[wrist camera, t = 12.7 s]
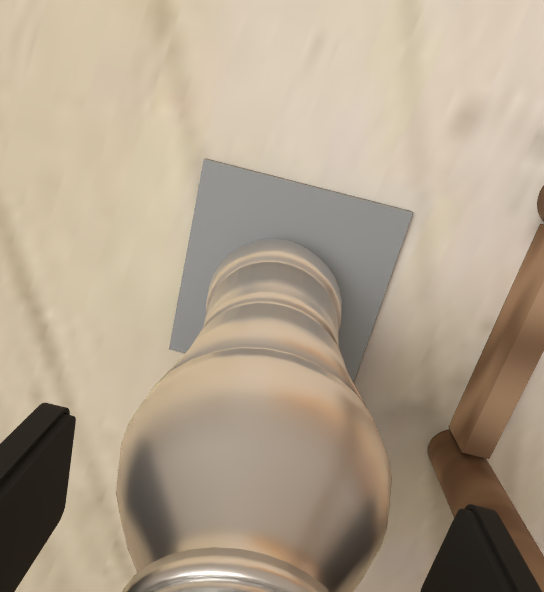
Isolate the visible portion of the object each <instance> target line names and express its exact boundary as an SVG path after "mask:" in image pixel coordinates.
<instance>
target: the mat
mask: <svg viewBox="0 0 544 592" xmlns="http://www.w3.org/2000/svg"><path fill="white" fill-rule="evenodd" d="M412 214H413V212H411V211H409V210H405V209H401V208H397V207H393V206H389V205H385V204H381V203H378V202H374V201H370V200H366V199H362V198H358V197H354V196H350V195H346V194H342V193H338V192H335V191H331V190H327V189H323V188H319V187H315V186H311V185H307V184H303V183H299V182H296V181H292V180H288V179H284V178H280V177H276V176H272V175H268V174H264V173H260V172H256V171H253V170H249V169H245V168H241V167H237V166H233V165H229V164H225V163H221V162H217V161H214V160H210V159H204V161H203V166H202V172H201V177H200V183H199V188H198V194H197V199H196V205H195V210H194V216H193V221H192V227H191V232H190V238H189V243H188V248H187V254H186V259H185V265H184V270H183V276H182V281H181V287H180V292H179V298H178V303H177V309H176V314H175V320H174V325H173V331H172V336H171V342H170V347H169V349H170V350H174V351H178V352H182V353H186V352H187V351H188V350H189V349H190V347H191V346H192V344H193V342H194V341H195V339H196V338H197V336H198V335H199V333H200V331H201V330H202V328H203V325H204V321H205V318H206V314H207V312H206V304H207V297H208V290H209V285H210V282H211V279H212V277H213V274H214V272H215V271H216V269H217V268H218V266H219V265H220V263H221V262H222V261H223V260H224V259H225V258H226V257H227V256H228V255H229V254H231V253H232V252H234V251H235V250H237V249H239V248H240V247H242V246H245V245H247V244H250V243H252V242H255V241H259V240H265V239H282V240H286V241H291V242H294V243H296V244H299V245H301V246H303V247H305V248H307V249H308V250H310V251H311V252H313V253H314V254H315V255H316V256H318V257H319V258H320V259H321V260H322V261H323V262H324V263H325V264H326V265H327V266H328V268H329V269H330V271H331V272H332V274H333V275H334V277H335V279H336V281H337V284H338V286H339V289H340V294H341V299H342V311H341V324H340V328H339V332H338V342H339V349H340V352H341V355H342V358H343V361H344V364H345V367H346V370H347V372H348V374H349V376H350V378H351V380H352V381H353V383H354V380H355V377H356V374H357V372H358V369H359V366H360V363H361V360H362V357H363V354H364V352H365V349H366V346H367V343H368V340H369V337H370V334H371V332H372V329H373V326H374V323H375V320H376V317H377V314H378V312H379V309H380V306H381V303H382V300H383V297H384V294H385V292H386V289H387V286H388V283H389V280H390V277H391V274H392V272H393V269H394V266H395V263H396V260H397V257H398V254H399V252H400V249H401V246H402V243H403V240H404V237H405V234H406V232H407V229H408V226H409V223H410V220H411V217H412Z"/></svg>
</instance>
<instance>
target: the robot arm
mask: <svg viewBox="0 0 544 592" xmlns="http://www.w3.org/2000/svg"><path fill="white" fill-rule="evenodd" d="M75 422H76V419H75V417H74V416H71V415H70V411H69V409H68V408H65V407H61V406H57V405H53V404H49V403H42V404H41V405H39V406H38V407H37V408H36V409H35V410H34V411H33V412H32V413H31V414H30V415H29V416H28V417H27V418H26V419H25V420H24V421H23V422H22V423H21V424H20V425H19V426H18V427H17V428H16V429H15V430H14V431H13V432H12V433H11V434H10V435H9V436H8V437H7V438H6V439H5V440H4V441H3V442H2V443H1V444H0V592H14V591H15V590H16V588H17V587H18V585H19V584H20V582H21V581H22V579H23V577H24V576H25V574H26V573H27V571H28V570H29V568H30V566H31V565H32V563H33V562H34V560H35V559H36V557H37V556H38V554H39V552H40V551H41V549H42V548H43V546H44V545H45V543H46V542H47V540H48V538H49V537H50V535H51V534H52V532H53V531H54V529H55V527H56V526H57V524H58V523H59V521H60V519H61V517H62V514H63V512H64V508H65V503H66V495H67V487H68V479H69V471H70V463H71V455H72V447H73V439H74V430H75ZM421 592H542V590H541V589H540V587H539V585H538V583H537V581H536V580H535V578H534V576H533V574H532V573H531V571H530V569H529V567H528V566H527V564H526V562H525V560H524V559H523V557H522V555H521V553H520V551H519V550H518V548H517V546H516V544H515V543H514V541H513V539H512V537H511V536H510V534H509V532H508V530H507V529H506V527H505V525H504V523H503V521H502V520H501V518H500V516H499V514H498V513H497V512H496V511H495V510H493V509H489V508H485V507H481V506H477V505H473V504H469V505H467V506H466V507H465V509H460V510H458V512H457V514H456V516H455V518H454V520H453V522H452V524H451V526H450V528H449V531H448V533H447V535H446V537H445V539H444V541H443V543H442V545H441V548H440V550H439V552H438V554H437V556H436V558H435V560H434V562H433V565H432V567H431V569H430V571H429V573H428V575H427V577H426V579H425V582H424V584H423V586H422V588H421Z"/></svg>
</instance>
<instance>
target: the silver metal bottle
mask: <svg viewBox="0 0 544 592" xmlns="http://www.w3.org/2000/svg"><path fill="white" fill-rule="evenodd" d="M341 311H342V299H341V294H340V289H339V286H338V284H337V281H336V279H335V277H334V275H333V274H332V272H331V271H330V269H329V268H328V266H327V265H326V264H325V263H324V262H323V261H322V260H321V259H320V258H319V257H318V256H316V255H315V254H314V253H313V252H311V251H310V250H308V249H307V248H305V247H303V246H301V245H299V244H296V243H294V242H291V241H286V240H282V239H265V240H259V241H255V242H252V243H250V244H247V245H245V246H242V247H240V248H239V249H237V250H235V251H234V252H232V253H231V254H229V255H228V256H227V257H226V258H225V259H224V260H223V261H222V262H221V263H220V265H219V266H218V268H217V269H216V271H215V272H214V274H213V277H212V279H211V282H210V285H209V290H208V297H207V304H206V312H207V314H206V318H205V321H204V325H203V328H202V330H201V331H200V333H199V335H198V336H197V338H196V339H195V341H194V342H193V344H192V346H191V347H190V349H189V350H188V351H187V352H186V353H185V354H184V355H183V356H182V357H181V358H180V359H179V361H178V362H177V363H176V364H175V365H174V366H173V367H172V368H171V369H170V370H169V371H168V372H167V374H166V375H165V376H164V377H163V378H162V379H161V380H160V381H159V382H158V383H157V384H156V385H155V386H154V387H153V389H152V390H151V392H150V393H149V395H148V396H147V398H146V399H145V400H144V401H143V403H142V404H141V406H140V407H139V409H138V410H137V412H136V413H135V415H134V416H133V418H132V419H131V421H130V422H129V424H128V426H127V429H126V432H125V435H124V438H123V441H122V443H121V451H120V460H119V468H118V478H117V490H116V496H117V502H118V507H119V513H120V518H121V522H122V526H123V531H124V535H125V539H126V543H127V548H128V550H129V553H130V555H131V558H132V560H133V563H134V565H135V568H136V570H137V574H136V575H134V577H133V578H132V579H131V580H130V582H129V583H128V584H127V585H126V587H125V588H124V589H123V592H354V590H355V589H356V587H357V586H358V584H359V583H360V581H361V580H362V578H363V576H364V575H365V573H366V571H367V569H368V568H369V566H370V564H371V563H372V561H373V559H374V557H375V556H376V554H377V552H378V551H379V549H380V546H381V544H382V541H383V538H384V535H385V532H386V530H387V522H388V513H389V504H390V494H391V482H392V477H391V471H390V465H389V459H388V455H387V453H386V450H385V448H384V446H383V443H382V440H381V438H380V435H379V433H378V430H377V428H376V426H375V423H374V421H373V419H372V416H371V414H370V412H369V411H368V410H367V407H366V405H365V403H364V402H363V400H362V398H361V396H360V394H359V392H358V391H357V389H356V387H355V385H354V383H353V381H352V380H351V378H350V376H349V374H348V372H347V370H346V367H345V364H344V361H343V358H342V355H341V352H340V349H339V342H338V332H339V328H340V324H341Z"/></svg>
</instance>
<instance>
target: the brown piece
mask: <svg viewBox="0 0 544 592" xmlns="http://www.w3.org/2000/svg"><path fill="white" fill-rule="evenodd" d="M537 208H538V212H539V215H540V217H541V218H542V220H543V221H544V186H543V188H542V189H541V191H540V194H539V197H538V202H537ZM543 351H544V225H543V224H540V226H539V228H538V230H537V232H536V235H535V237H534V239H533V241H532V243H531V246H530V248H529V250H528V252H527V254H526V257H525V259H524V261H523V263H522V266H521V268H520V270H519V272H518V274H517V277H516V279H515V281H514V283H513V285H512V288H511V290H510V292H509V294H508V297H507V299H506V301H505V303H504V305H503V308H502V310H501V312H500V314H499V316H498V319H497V321H496V323H495V325H494V328H493V330H492V332H491V334H490V336H489V339H488V341H487V343H486V345H485V348H484V350H483V352H482V354H481V356H480V359H479V361H478V363H477V365H476V367H475V370H474V372H473V374H472V376H471V379H470V381H469V383H468V385H467V387H466V390H465V392H464V394H463V396H462V398H461V401H460V403H459V405H458V407H457V410H456V412H455V414H454V416H453V418H452V421H451V423H450V425H449V429H450V430H446V431H443V432H441V433H439V434H437V435H436V436H435V437H434V438H433V439H432V440H431V441H430V443H429V446H428V456H429V458H430V461H431V463H432V465H433V468H434V470H435V473H436V475H437V478H438V480H439V482H440V485H441V487H442V490H443V492H444V494H445V497H446V499H447V502H448V504H449V506H450V509H451V511H452V514H453V516H454V518H455V516H456V514H457V512H458V510H460V509H465V507H466V506H467V505H469V504H473V505H477V506H481V507H485V508H489V509H493V510H495V511H496V512H497V513H498V514H499V516H500V518H501V520H502V521H503V523H504V525H505V527H506V529H507V530H508V532H509V534H510V536H511V537H512V539H513V541H514V543H515V544H516V546H517V548H518V550H519V551H520V553H521V555H522V557H523V559H524V560H525V562H526V564H527V566H528V567H529V569H530V571H531V573H532V574H533V576H534V578H535V580H536V581H537V583H538V585H539V587H540V589H541V590H542V592H544V556H543V554H542V553H541V551H540V549H539V548H538V546H537V544H536V542H535V541H534V539H533V537H532V536H531V534H530V532H529V531H528V529H527V527H526V526H525V524H524V522H523V521H522V519H521V517H520V515H519V514H518V512H517V510H516V509H515V507H514V505H513V504H512V502H511V500H510V499H509V497H508V495H507V494H506V492H505V490H504V488H503V487H502V485H501V483H500V482H499V480H498V478H497V477H496V475H495V473H494V472H493V470H492V468H491V466H490V465H489V463H488V461H487V460H486V459H489V458H490V456H491V454H492V452H493V450H494V448H495V446H496V444H497V442H498V440H499V438H500V436H501V434H502V432H503V430H504V429H505V427H506V425H507V423H508V421H509V419H510V417H511V415H512V413H513V411H514V409H515V407H516V405H517V403H518V401H519V399H520V397H521V395H522V393H523V391H524V389H525V387H526V385H527V383H528V381H529V379H530V377H531V375H532V373H533V371H534V369H535V367H536V365H537V363H538V361H539V359H540V357H541V355H542V353H543Z"/></svg>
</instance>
